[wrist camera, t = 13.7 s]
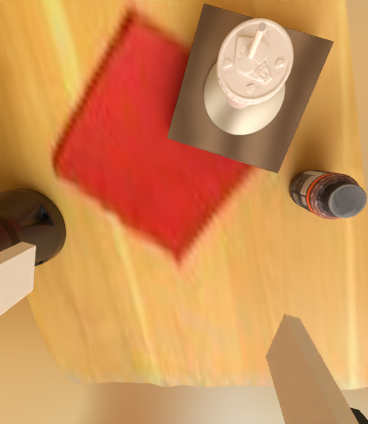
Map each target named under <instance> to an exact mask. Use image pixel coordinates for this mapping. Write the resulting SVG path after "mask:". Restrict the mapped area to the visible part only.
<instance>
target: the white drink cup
mask: <svg viewBox="0 0 368 424" xmlns="http://www.w3.org/2000/svg"><path fill="white" fill-rule="evenodd" d="M292 64H293V46H292V42H291V39H290V37H289V35H288V34H287V32H286V31H285V29H284V28H283V27H282V26H280V25H279V24H278V23H276V22H274V21H272V20H269V19H264V18H256V19H250V20H247V21H245V22H243V23H241V24H239V25H238V26H236V27H235V28H234V29H233V30H232V31H231V32H230V33H229V34H228V35H227V37H226V38H225V40H224V42H223V43H222V46H221V48H220V51H219V55H218V60H217V77H218V81H219V84H220V86H221V88H222V90H223V92H224V93H225V95H226V99H227V101H228V103H229V104H230V105H231V106H232V107H234V108H237V109H241V108H245V107H247V106H249V105H252V104H258V103H261V102H264V101H266V100H268V99H269V98H271V97H272V96H274V95H275V94H276V93H277V92H278V91H279V90H280V89H281V88H282V86H283V84H284V83H285V81H286V80H287V78H288V76H289V74H290V71H291V68H292Z"/></svg>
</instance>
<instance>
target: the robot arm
mask: <svg viewBox="0 0 368 424" xmlns="http://www.w3.org/2000/svg"><path fill="white" fill-rule="evenodd" d="M65 237H66V229H65V224H64V220H63V218H62V216H61V214H60V212H59V210H58V209H57V207H56V206H55V205H54V204H53V203H52V202H51V201H50V200H49V199H48V198H47V197H45V196H44V195H42V194H40V193H38V192H36V191H33V190H29V189H16V190H10V191H6V192H3V193H0V315H2V314H3V313H4V312H6V311H7V310H8V309H9V308H11V307H12V306H13V305H14V304H16V303H17V302H18V301H20V300H21V299H22V298H24V297H25V296H26V295H27V294H29V293H30V292H31V291H33V282H34V267H35V266H37V265H41V264H43V263H45V262H47V261H49V260H50V259H52V258H53V257H55V256H56V255H57V254H58V253H59V252H60V251H61V249H62V247H63V245H64V242H65ZM266 358H267V362H268V365H269V369H270V372H271V376H272V379H273V383H274V386H275V389H276V393H277V396H278V400H279V403H280V407H281V410H282V414H283V417H284V420H285V424H368V420H367V419H366V417H365V416H364V415H363V414H362V413H361V412H360V411H359V410H357V409H353V408H350V407H349V405H348V404H347V402H346V400H345V398H344V396H343V395H342V393H341V391H340V389H339V387H338V386H337V384H336V382H335V380H334V379H333V377H332V375H331V373H330V371H329V370H328V368H327V366H326V364H325V363H324V361H323V359H322V357H321V355H320V354H319V352H318V350H317V348H316V347H315V345H314V343H313V341H312V340H311V338H310V336H309V334H308V332H307V331H306V329H305V327H304V325H303V324H302V322H301V320H300V318H296V317H293V316H289V315H285V314H284V317H283V319H282V321H281V323H280V326H279V328H278V330H277V332H276V335H275V337H274V339H273V341H272V344H271V346H270V348H269V351H268V353H267V355H266Z"/></svg>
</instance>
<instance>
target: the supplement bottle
mask: <svg viewBox="0 0 368 424" xmlns="http://www.w3.org/2000/svg"><path fill="white" fill-rule="evenodd" d="M290 196H291V198H292V200H293V201H294V202H295V203H296V204H298V205H299V206H301V207H303V208H305V209H307V210H308V211H310V212H312V213H314V214H316V215H317V216H319V217H322V218H325V219H340V218H349V217H353V216H355V215H357V214H358V213H360V212H361V211H362V209H363V208H364V206H365V204H366V198H367V197H366V193H365V191H364V190H363V189H362V188H361V187H360V186H359V185H358V183H357V182H356V181H355V180H354V179H353V178H352V177H350V176H348V175H345V174H339V173H332V172H324V171H318V170H317V171H316V170H308V171H304V172H302V173H300V174H298V175H297V176H296V177H295V178H294V179H293V180H292V182H291V184H290Z"/></svg>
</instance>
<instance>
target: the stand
mask: <svg viewBox="0 0 368 424" xmlns="http://www.w3.org/2000/svg"><path fill="white" fill-rule="evenodd" d="M250 19H255V18H252V17H248V16H245V15H241V14H238V13H235V12H231V11H228V10H224V9H221V8H218V7H214V6H211V5H207V4H204V5H203V8H202V12H201V16H200V19H199V23H198V27H197V30H196V34H195V38H194V41H193V45H192V49H191V52H190V56H189V60H188V63H187V67H186V71H185V74H184V78H183V82H182V85H181V89H180V93H179V96H178V100H177V104H176V107H175V111H174V115H173V118H172V122H171V126H170V129H169V133H168V137H167V138H169V139H172V140H174V141H177V142H180V143H183V144H187V145H190V146H193V147H196V148H199V149H202V150H205V151H208V152H211V153H215V154H218V155H221V156H224V157H227V158H230V159H233V160H236V161H239V162H243V163H246V164H249V165H252V166H255V167H258V168H261V169H264V170H267V171H271V172H275V173H278V172H279V169H280V167H281V165H282V162H283V160H284V158H285V155H286V153H287V151H288V148H289V146H290V143H291V141H292V139H293V136H294V134H295V132H296V129H297V127H298V125H299V122H300V120H301V118H302V115H303V113H304V111H305V108H306V106H307V103H308V101H309V99H310V96H311V94H312V92H313V89H314V87H315V85H316V82H317V80H318V78H319V75H320V73H321V71H322V68H323V66H324V63H325V61H326V59H327V56H328V54H329V52H330V49H331V47H332V45H333V41H330V40H327V39H323V38H320V37H316V36H313V35H310V34H306V33H303V32H299V31H296V30H292V29H289V28H286V27H283V28H284V29H285V31H286V32H287V34H288V35H289V37H290V39H291V42H292V46H293V64H292V68H291V71H290V74H289V76H288V78H287V80H286V81H285V83H284V84H283V86H282V88H281V89H280V90H279V91H278V92H277V93H276V94H275V95H274V96H272V97H271V98H269V99H268V100H266V101H264V102H261V103H258V104H252V105H249V106H247V107H245V108H241V109H237V108H234V107H232V106H231V105H230V104H229V103H228V101H227V99H226V95H225V93H224V92H223V90H222V88H221V86H220V84H219V81H218V77H217V60H218V55H219V51H220V48H221V46H222V43H223V42H224V40H225V38H226V37H227V35H228V34H229V33H230V32H231V31H232V30H233V29H234V28H235V27H236V26H238V25H239V24H241V23H243V22H245V21H247V20H250Z"/></svg>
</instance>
